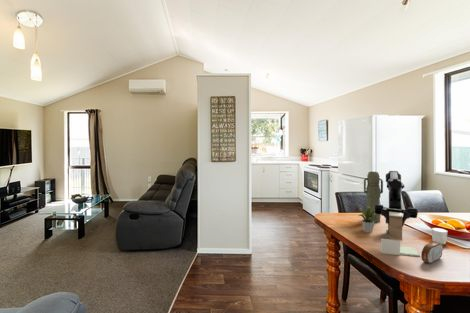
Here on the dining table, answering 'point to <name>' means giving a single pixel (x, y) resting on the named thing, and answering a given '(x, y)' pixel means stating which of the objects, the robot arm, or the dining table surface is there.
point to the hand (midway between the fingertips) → (395, 225)
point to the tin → (432, 252)
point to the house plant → (367, 219)
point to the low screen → (390, 246)
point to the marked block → (395, 225)
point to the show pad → (408, 251)
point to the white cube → (439, 235)
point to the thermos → (373, 192)
